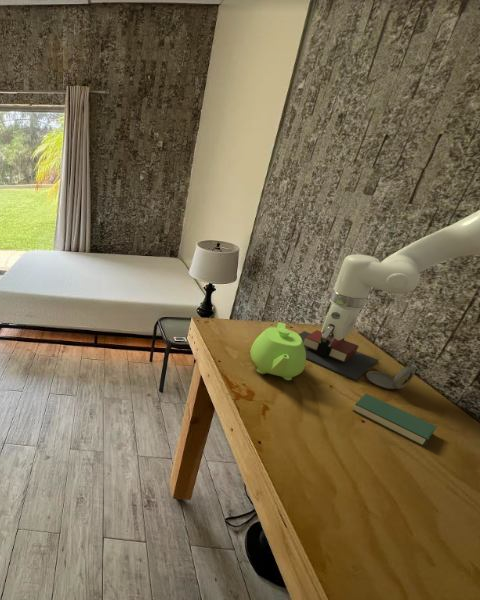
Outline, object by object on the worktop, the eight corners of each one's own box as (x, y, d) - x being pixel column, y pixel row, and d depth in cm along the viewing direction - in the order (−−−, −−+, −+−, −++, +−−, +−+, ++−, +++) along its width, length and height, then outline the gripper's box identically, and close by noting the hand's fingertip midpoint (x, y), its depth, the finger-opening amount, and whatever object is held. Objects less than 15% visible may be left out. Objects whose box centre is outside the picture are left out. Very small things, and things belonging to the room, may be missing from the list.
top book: (355, 354, 94) (358, 345, 92) (344, 362, 90) (348, 354, 89) (313, 337, 102) (316, 329, 101) (302, 345, 98) (305, 337, 97)
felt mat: (377, 361, 93) (378, 359, 93) (355, 381, 85) (356, 379, 85) (303, 332, 108) (304, 330, 108) (279, 347, 100) (279, 345, 100)
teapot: (304, 397, 80) (319, 356, 75) (246, 381, 86) (256, 342, 81) (298, 355, 96) (310, 319, 91) (249, 345, 102) (257, 310, 96)
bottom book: (432, 433, 69) (437, 426, 69) (424, 446, 66) (428, 439, 65) (362, 400, 79) (365, 393, 78) (352, 410, 76) (355, 403, 75)
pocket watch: (364, 371, 89) (378, 341, 85) (405, 382, 85) (421, 351, 80) (366, 387, 83) (381, 355, 79) (410, 400, 79) (428, 367, 74)
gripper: (350, 312, 82) (329, 367, 89) (376, 295, 90) (354, 347, 98) (318, 302, 87) (300, 355, 95) (344, 287, 96) (326, 337, 103)
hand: (327, 350), depth 96 cm, fingers closed on top book, 7 cm apart
